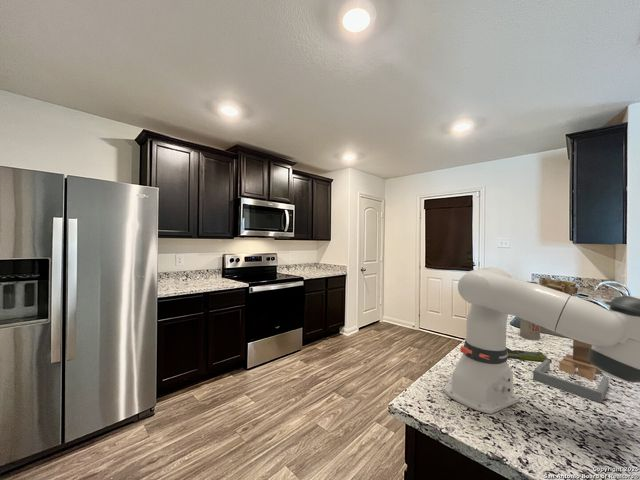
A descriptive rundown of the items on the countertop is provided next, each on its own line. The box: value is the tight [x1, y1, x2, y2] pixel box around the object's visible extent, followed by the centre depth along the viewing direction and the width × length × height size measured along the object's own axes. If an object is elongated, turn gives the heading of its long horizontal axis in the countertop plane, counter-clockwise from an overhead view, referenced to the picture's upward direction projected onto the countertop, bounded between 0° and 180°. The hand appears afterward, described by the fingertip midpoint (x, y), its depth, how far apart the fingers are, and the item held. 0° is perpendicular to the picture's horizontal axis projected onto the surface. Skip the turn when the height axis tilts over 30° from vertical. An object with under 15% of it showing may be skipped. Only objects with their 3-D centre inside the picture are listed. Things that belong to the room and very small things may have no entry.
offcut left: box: [558, 359, 578, 375], centre depth 99 cm, size 4×4×3 cm
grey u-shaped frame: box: [532, 359, 610, 404], centre depth 90 cm, size 16×16×3 cm
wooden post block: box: [562, 339, 602, 375], centre depth 103 cm, size 8×10×14 cm
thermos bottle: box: [519, 281, 541, 341], centre depth 133 cm, size 8×8×28 cm
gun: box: [506, 346, 552, 364], centre depth 114 cm, size 2×19×15 cm
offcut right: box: [577, 365, 597, 381], centre depth 95 cm, size 4×4×3 cm
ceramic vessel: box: [538, 276, 579, 295], centre depth 207 cm, size 23×24×25 cm
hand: (631, 355), depth 93 cm, fingers open, 8 cm apart
